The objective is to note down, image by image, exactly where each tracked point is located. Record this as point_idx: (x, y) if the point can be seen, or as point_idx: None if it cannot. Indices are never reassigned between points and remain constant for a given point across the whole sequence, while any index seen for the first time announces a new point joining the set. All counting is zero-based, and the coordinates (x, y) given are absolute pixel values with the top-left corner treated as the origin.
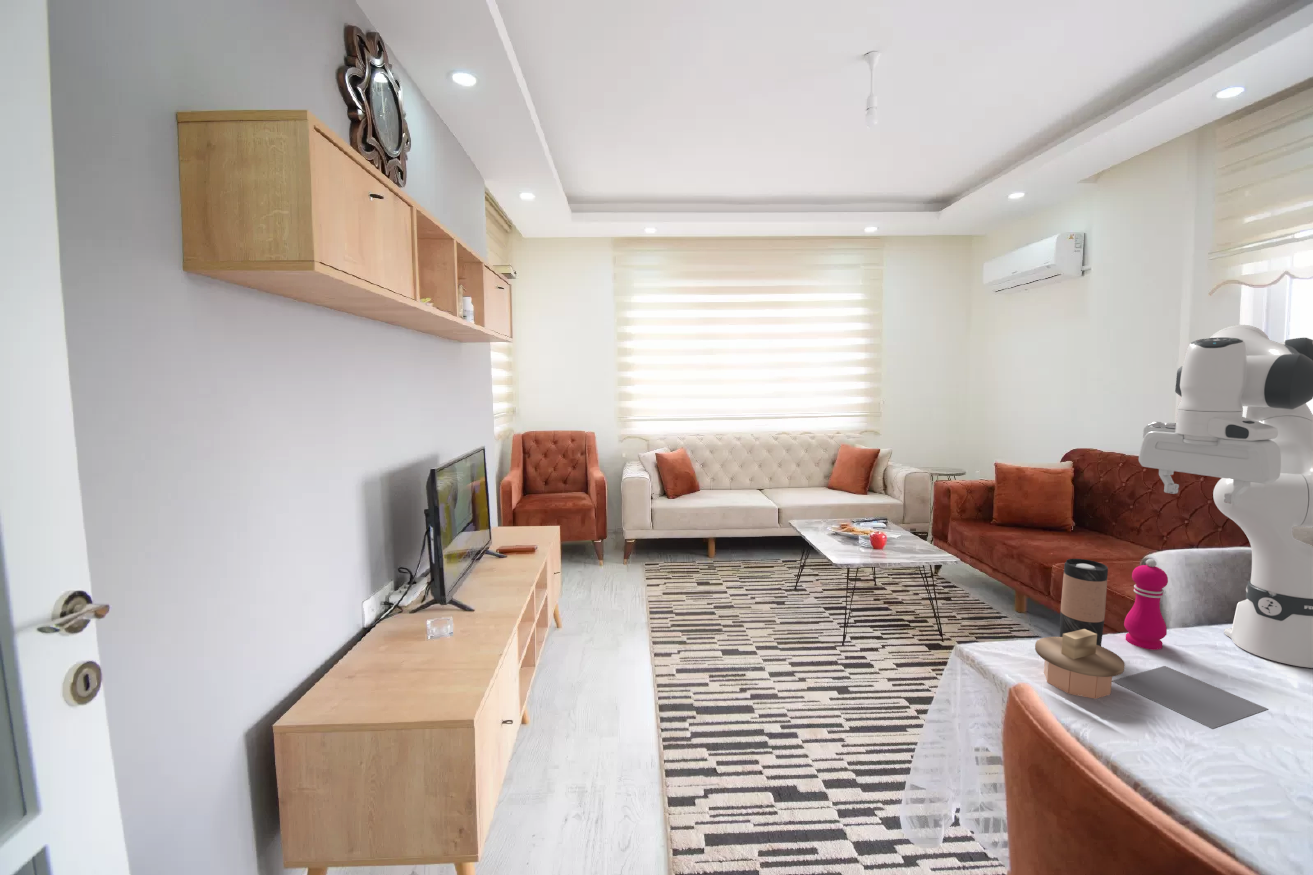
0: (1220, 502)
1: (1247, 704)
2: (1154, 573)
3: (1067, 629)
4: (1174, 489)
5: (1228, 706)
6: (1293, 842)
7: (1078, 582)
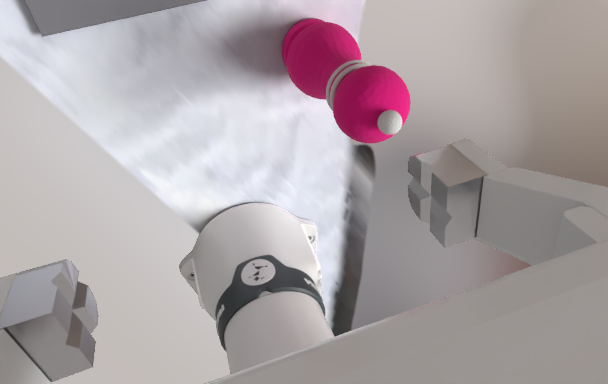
0: None
1: (58, 11)
2: (358, 100)
3: None
4: (428, 189)
5: None
6: None
7: None
